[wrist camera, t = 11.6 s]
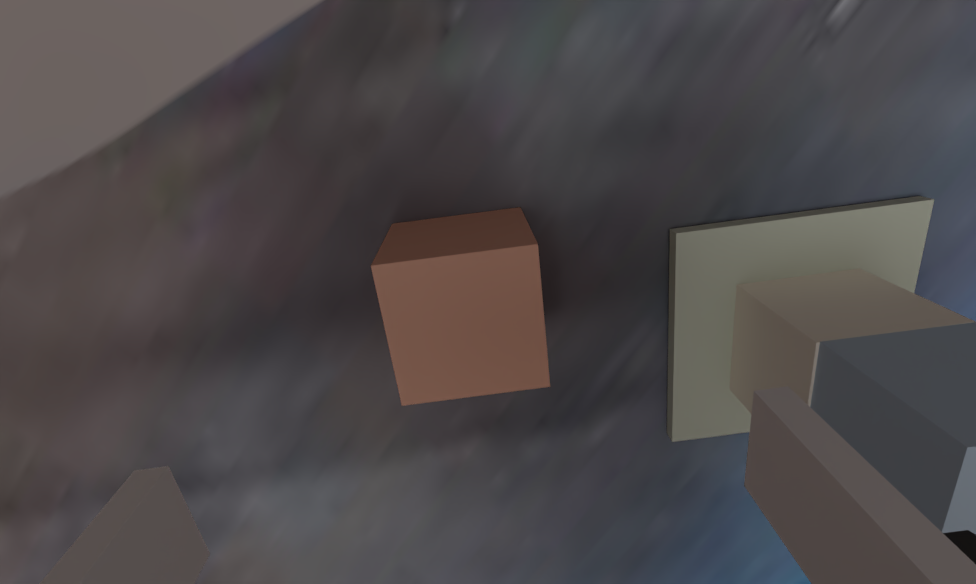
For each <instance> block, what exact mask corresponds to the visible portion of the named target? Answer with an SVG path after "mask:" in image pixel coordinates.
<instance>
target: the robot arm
mask: <svg viewBox="0 0 976 584" xmlns="http://www.w3.org/2000/svg"><path fill="white" fill-rule="evenodd" d="M744 486H745V487H746V489H747V490H748V492H749V493H750V495H751V496H752V498H753V499H754V501H755V502H756V503H757V505H758V506H759V508H760V509H761V511H762V512H763V514H764V515H765V517H766V518H767V519H768V521H769V522H770V524H771V525H772V527H773V528H774V530H775V531H776V533H777V534H778V535H779V537H780V538H781V540H782V541H783V543H784V544H785V546H786V547H787V549H788V550H789V551H790V553H791V554H792V556H793V557H794V559H795V560H796V562H797V563H798V565H799V566H800V567H801V569H802V570H803V572H804V573H805V575H806V576H807V578H808V579H809V580H810V582H811V583H812V584H976V534H974V533H972V532H971V531H969V530H964V531H956V532H948V533H942V532H941V531H940V530H939V529H938V528H937V527H936V526H935V525H934V524H933V523H932V522H931V521H929V520H928V519H927V518H926V517H925V516H924V515H923V514H922V513H921V512H920V511H919V510H918V509H917V508H916V507H915V506H914V505H913V504H912V503H911V502H909V501H908V500H907V499H906V498H905V497H904V496H903V495H902V494H901V493H900V492H899V491H898V490H897V489H896V488H895V487H894V486H893V485H892V484H891V483H889V482H888V481H887V480H886V479H885V478H884V477H883V476H882V475H881V474H880V473H879V472H878V471H877V470H876V469H875V468H874V467H873V466H872V465H871V464H869V463H868V462H867V461H866V460H865V459H864V458H863V457H862V456H861V455H860V454H859V453H858V452H857V451H856V450H855V449H854V448H853V447H852V446H851V445H849V444H848V443H847V442H846V441H845V440H844V439H843V438H842V437H841V436H840V435H839V434H838V433H837V432H836V431H835V430H834V429H833V428H832V427H831V426H829V425H828V424H827V423H826V422H825V421H824V420H823V419H822V418H821V417H820V416H819V415H818V414H817V413H816V412H815V411H814V410H813V409H812V408H811V407H809V406H808V405H807V404H806V403H805V402H804V401H803V400H802V399H801V398H800V397H799V396H798V395H797V394H796V393H795V392H794V391H793V390H792V389H791V388H789V387H788V386H787V387H779V388H771V389H764V390H756V391H754V394H753V404H752V414H751V424H750V434H749V443H748V453H747V463H746V473H745V483H744ZM209 555H210V553H209V550H208V548H207V546H206V544H205V542H204V540H203V538H202V536H201V534H200V532H199V529H198V527H197V525H196V523H195V521H194V519H193V517H192V515H191V513H190V511H189V508H188V506H187V504H186V502H185V500H184V498H183V496H182V494H181V492H180V490H179V487H178V485H177V483H176V481H175V479H174V477H173V475H172V473H171V471H170V469H169V466H166V467H158V468H151V469H143V470H135V471H134V472H133V473H132V474H131V475H130V477H129V478H128V479H127V480H126V481H125V483H124V484H123V485H122V486H121V487H120V489H119V490H118V491H117V492H116V493H115V494H114V496H113V497H112V498H111V499H110V500H109V502H108V503H107V504H106V505H105V506H104V508H103V509H102V510H101V511H100V512H99V514H98V515H97V516H96V517H95V518H94V520H93V521H92V522H91V523H90V524H89V525H88V527H87V528H86V529H85V530H84V531H83V533H82V534H81V535H80V536H79V537H78V539H77V540H76V541H75V542H74V543H73V545H72V546H71V547H70V548H69V549H68V551H67V552H66V553H65V554H64V555H63V557H62V558H61V559H60V560H59V561H58V562H57V564H56V565H55V566H54V567H53V568H52V570H51V571H50V572H49V573H48V574H47V576H46V577H45V578H44V579H43V580H42V582H41V583H40V584H194V583H195V581H196V579H197V577H198V576H199V574H200V572H201V570H202V568H203V566H204V564H205V562H206V561H207V559H208V557H209Z"/></svg>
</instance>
